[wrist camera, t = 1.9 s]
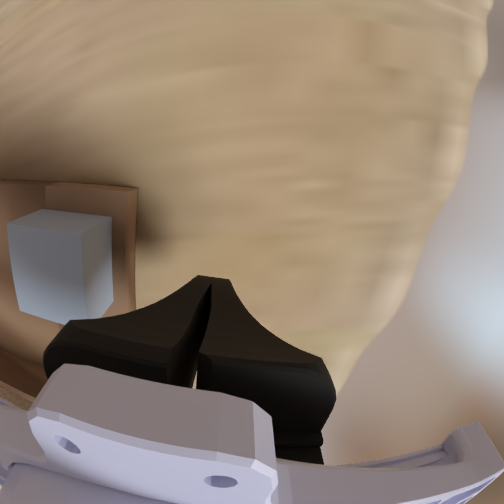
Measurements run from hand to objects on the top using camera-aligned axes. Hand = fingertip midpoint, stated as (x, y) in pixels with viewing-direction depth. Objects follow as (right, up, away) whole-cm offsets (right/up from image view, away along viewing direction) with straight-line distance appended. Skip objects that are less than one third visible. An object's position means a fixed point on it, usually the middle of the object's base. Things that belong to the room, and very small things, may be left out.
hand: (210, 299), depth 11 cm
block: (-8, +2, +2) cm, 8 cm away
